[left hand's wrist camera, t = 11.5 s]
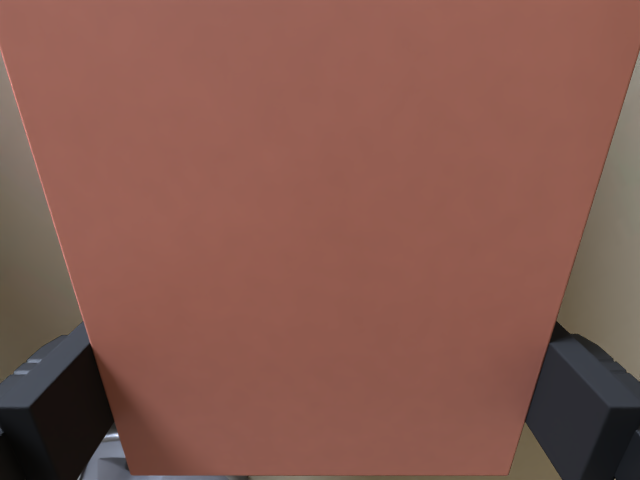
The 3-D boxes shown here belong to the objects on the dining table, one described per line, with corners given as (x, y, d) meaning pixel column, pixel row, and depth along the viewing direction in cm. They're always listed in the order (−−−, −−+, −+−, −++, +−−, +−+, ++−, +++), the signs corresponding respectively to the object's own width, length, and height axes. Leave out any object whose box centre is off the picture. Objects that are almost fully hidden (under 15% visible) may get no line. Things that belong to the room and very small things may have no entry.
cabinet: (177, -80, 14) (-184, -538, 4) (462, -80, 14) (822, -533, 4) (222, 292, 20) (129, 476, 10) (416, 292, 20) (509, 476, 10)
